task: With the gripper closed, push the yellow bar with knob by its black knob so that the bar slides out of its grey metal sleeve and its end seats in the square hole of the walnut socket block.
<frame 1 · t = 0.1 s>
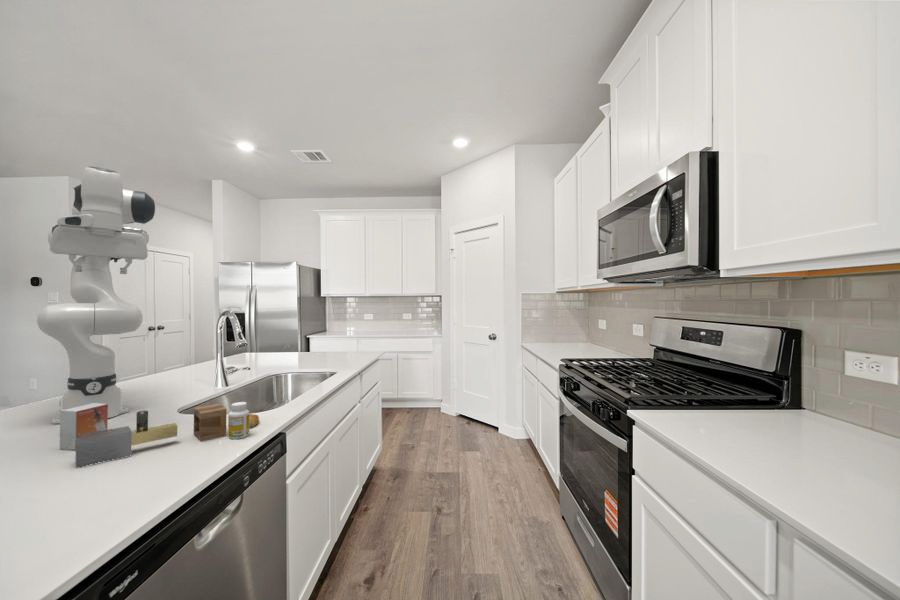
hand: (101, 272, 106), 48 cm above the countertop, tool pointing down, fingers open, 8 cm apart
yellow bar with knob: (130, 429, 98), point 6 cm above the countertop, slide at 0.0 cm
pastry: (246, 426, 120), on the countertop
supplement bottle: (238, 436, 110), on the countertop
sleeve: (103, 458, 94), on the countertop
socket: (208, 435, 111), on the countertop
small box: (84, 445, 103), on the countertop
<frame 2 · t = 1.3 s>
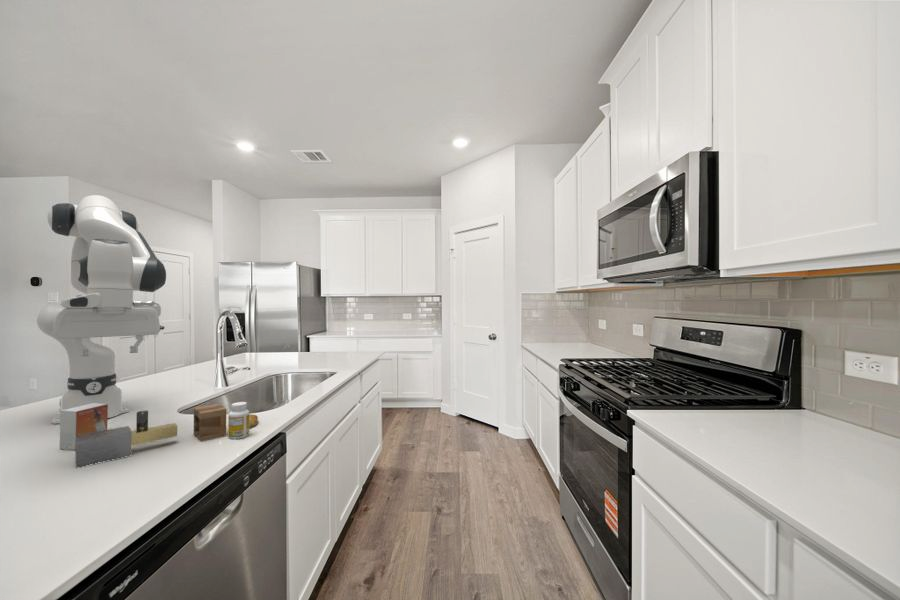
hand: (109, 354, 96), 26 cm above the countertop, tool pointing down, fingers open, 8 cm apart
nothing on the countertop moved.
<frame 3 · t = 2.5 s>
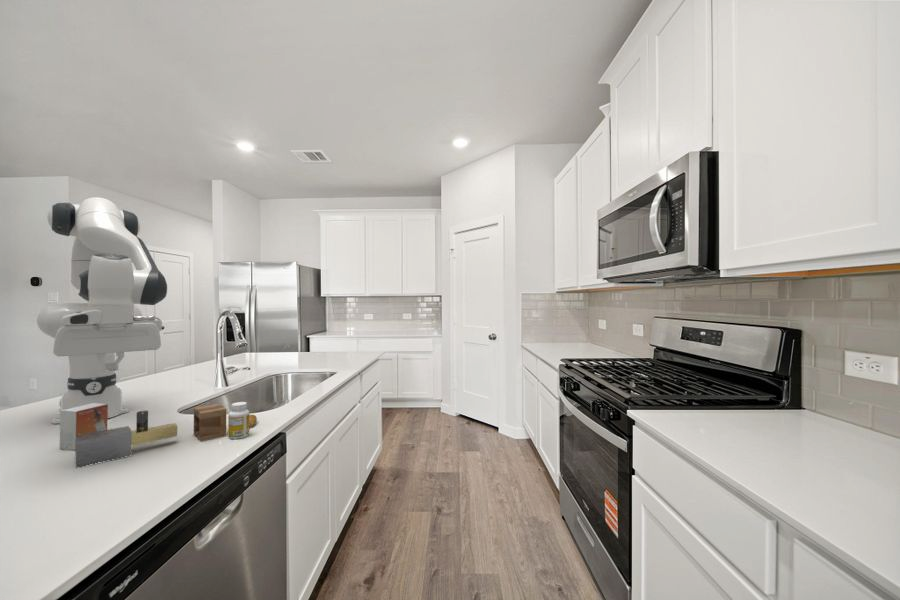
hand: (110, 370, 95), 22 cm above the countertop, tool pointing down, fingers closed
nothing on the countertop moved.
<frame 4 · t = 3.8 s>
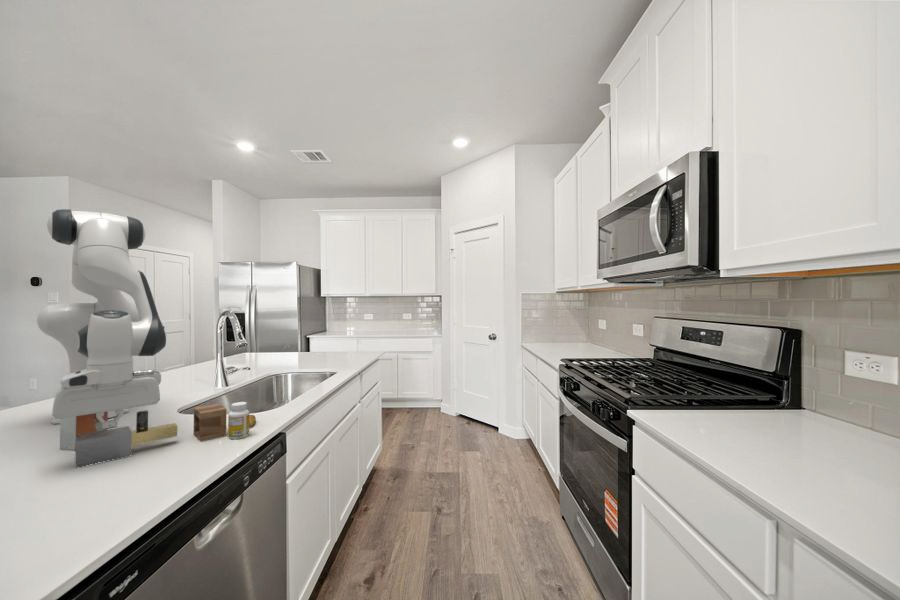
hand: (109, 428, 95), 7 cm above the countertop, tool pointing down, fingers closed
nothing on the countertop moved.
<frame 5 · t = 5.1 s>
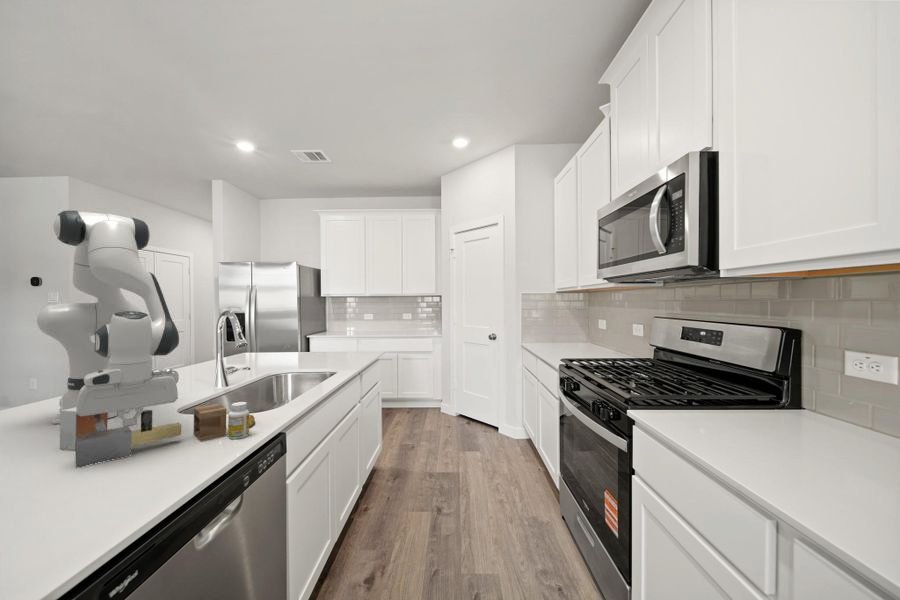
hand: (130, 425, 98), 7 cm above the countertop, tool pointing down, fingers closed
yellow bar with knob: (134, 428, 98), point 6 cm above the countertop, slide at 0.9 cm, touching gripper
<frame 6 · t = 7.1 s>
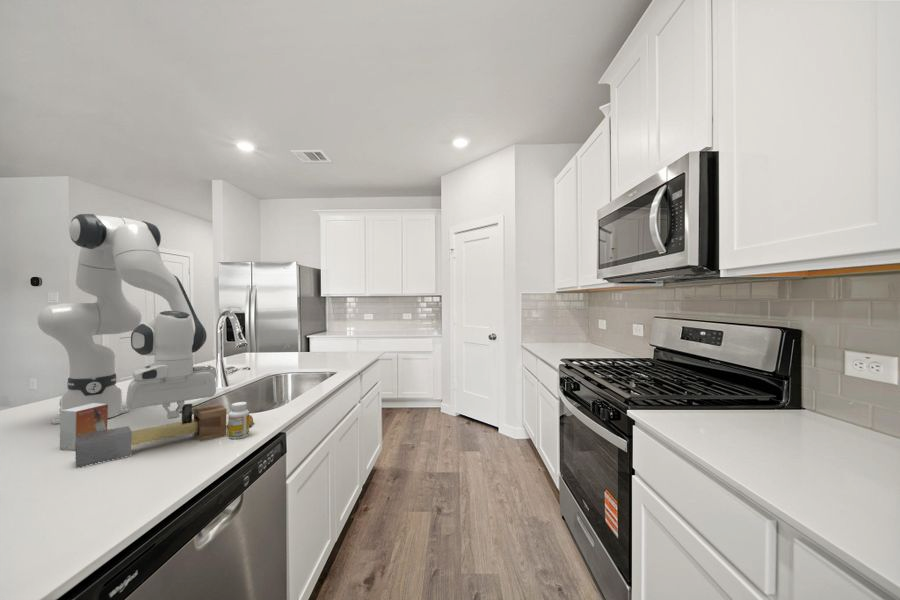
hand: (173, 417, 105), 7 cm above the countertop, tool pointing down, fingers closed
yellow bar with knob: (176, 420, 105), point 6 cm above the countertop, slide at 10.0 cm, touching gripper, socket
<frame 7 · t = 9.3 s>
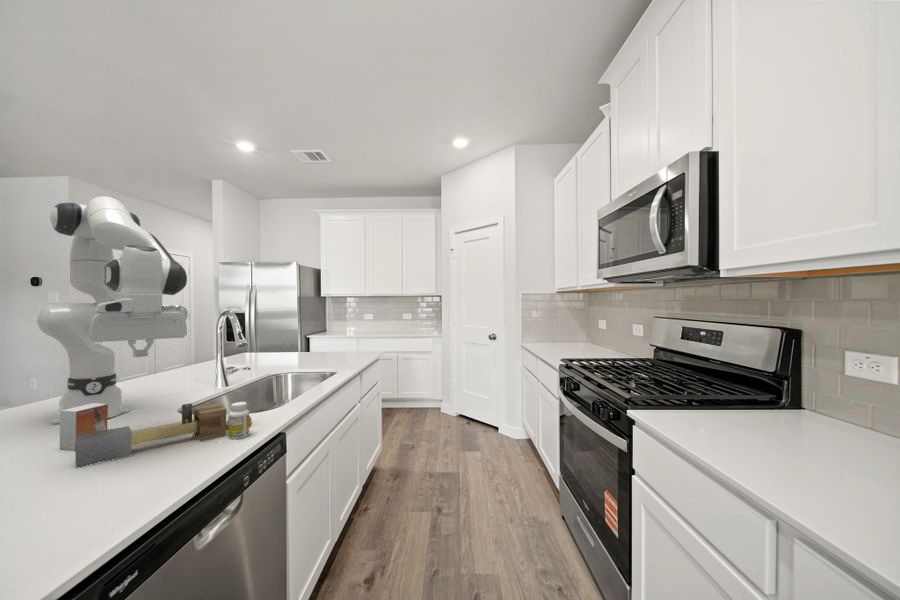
hand: (140, 356, 100), 25 cm above the countertop, tool pointing down, fingers closed
yellow bar with knob: (176, 420, 105), point 6 cm above the countertop, slide at 10.0 cm, touching socket
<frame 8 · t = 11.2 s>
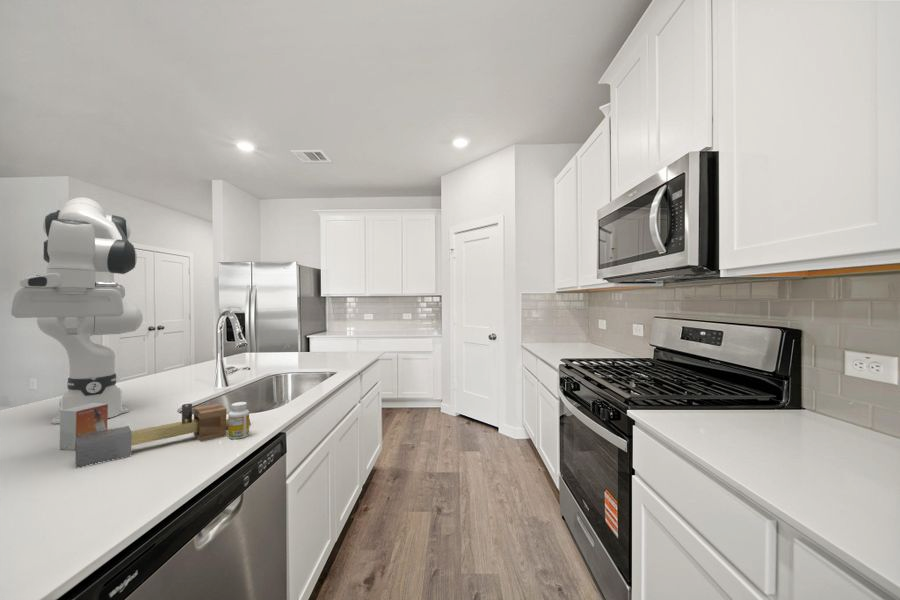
hand: (71, 334, 96), 31 cm above the countertop, tool pointing down, fingers closed
at the end: yellow bar with knob slide at 10.0 cm; the gripper is holding nothing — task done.
